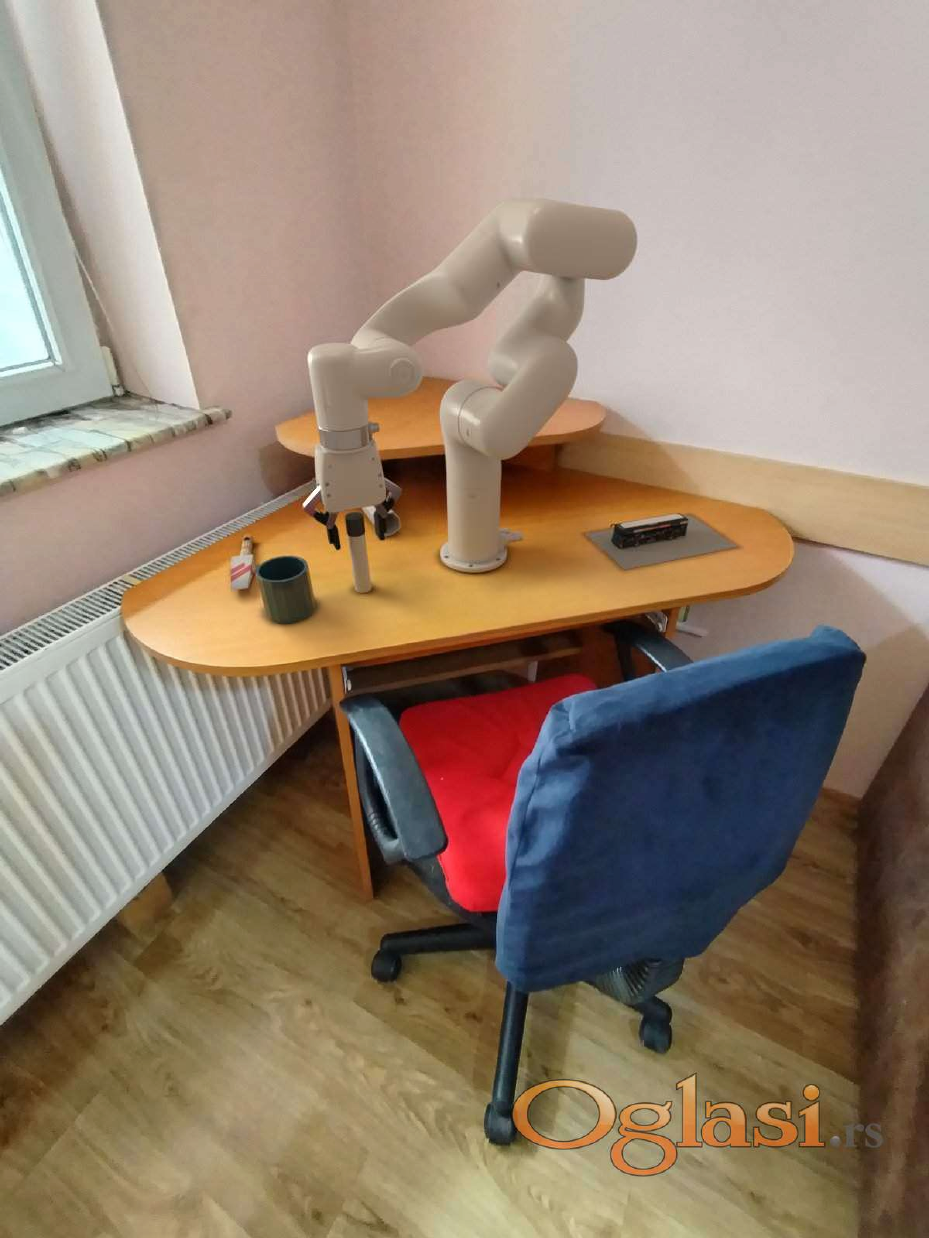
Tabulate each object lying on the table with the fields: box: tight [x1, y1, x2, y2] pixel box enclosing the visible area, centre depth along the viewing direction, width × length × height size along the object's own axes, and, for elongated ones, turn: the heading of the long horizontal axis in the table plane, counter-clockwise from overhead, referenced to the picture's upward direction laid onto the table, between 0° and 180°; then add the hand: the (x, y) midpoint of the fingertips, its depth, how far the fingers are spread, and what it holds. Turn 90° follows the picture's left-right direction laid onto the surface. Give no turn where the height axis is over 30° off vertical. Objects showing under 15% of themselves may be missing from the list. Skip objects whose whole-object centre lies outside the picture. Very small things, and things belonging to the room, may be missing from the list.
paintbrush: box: [230, 534, 257, 591], centre depth 109 cm, size 4×3×20 cm
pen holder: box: [254, 555, 316, 625], centre depth 97 cm, size 8×8×8 cm
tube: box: [361, 506, 402, 538], centre depth 127 cm, size 5×5×25 cm
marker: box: [344, 511, 372, 594], centre depth 100 cm, size 3×3×14 cm
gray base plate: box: [585, 512, 738, 570], centre depth 116 cm, size 14×25×4 cm, turn 109°
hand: (358, 540), depth 99 cm, fingers open, 6 cm apart
